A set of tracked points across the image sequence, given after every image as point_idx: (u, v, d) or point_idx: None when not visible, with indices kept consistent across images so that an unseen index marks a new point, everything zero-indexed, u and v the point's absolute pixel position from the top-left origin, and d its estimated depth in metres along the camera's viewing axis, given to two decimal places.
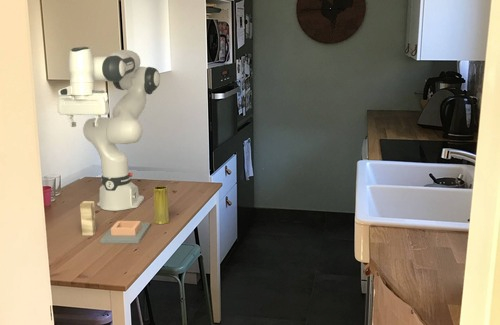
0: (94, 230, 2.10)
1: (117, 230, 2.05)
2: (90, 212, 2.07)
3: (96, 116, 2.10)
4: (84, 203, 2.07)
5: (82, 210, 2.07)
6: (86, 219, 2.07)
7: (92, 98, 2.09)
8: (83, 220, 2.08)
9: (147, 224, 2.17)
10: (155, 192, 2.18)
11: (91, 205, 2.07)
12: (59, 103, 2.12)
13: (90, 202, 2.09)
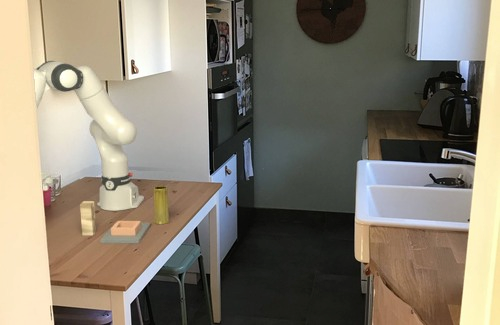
0: (94, 230, 2.10)
1: (117, 230, 2.05)
2: (90, 212, 2.07)
3: None
4: (84, 203, 2.07)
5: (82, 210, 2.07)
6: (86, 219, 2.07)
7: None
8: (83, 220, 2.08)
9: (147, 224, 2.17)
10: (155, 192, 2.18)
11: (91, 205, 2.07)
12: None
13: (90, 202, 2.09)
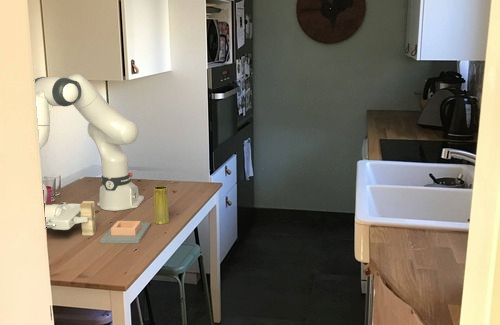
0: (94, 230, 2.10)
1: (117, 230, 2.05)
2: (90, 212, 2.07)
3: None
4: (84, 203, 2.07)
5: (82, 210, 2.07)
6: None
7: None
8: None
9: (147, 224, 2.17)
10: (155, 192, 2.18)
11: (91, 205, 2.07)
12: None
13: (90, 202, 2.09)
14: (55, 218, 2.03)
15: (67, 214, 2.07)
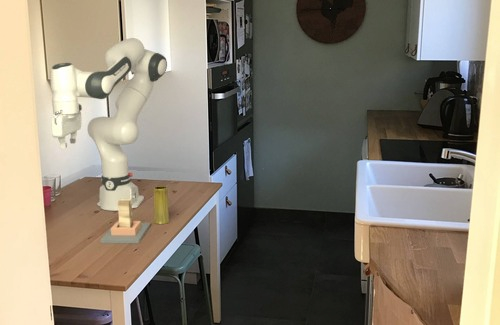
0: None
1: (117, 230, 2.05)
2: (128, 210, 2.06)
3: None
4: (122, 201, 2.07)
5: (120, 208, 2.06)
6: (123, 217, 2.07)
7: None
8: (121, 218, 2.07)
9: (147, 224, 2.17)
10: (155, 192, 2.18)
11: (129, 203, 2.06)
12: None
13: (127, 200, 2.08)
14: (63, 119, 1.98)
15: (68, 126, 2.02)
